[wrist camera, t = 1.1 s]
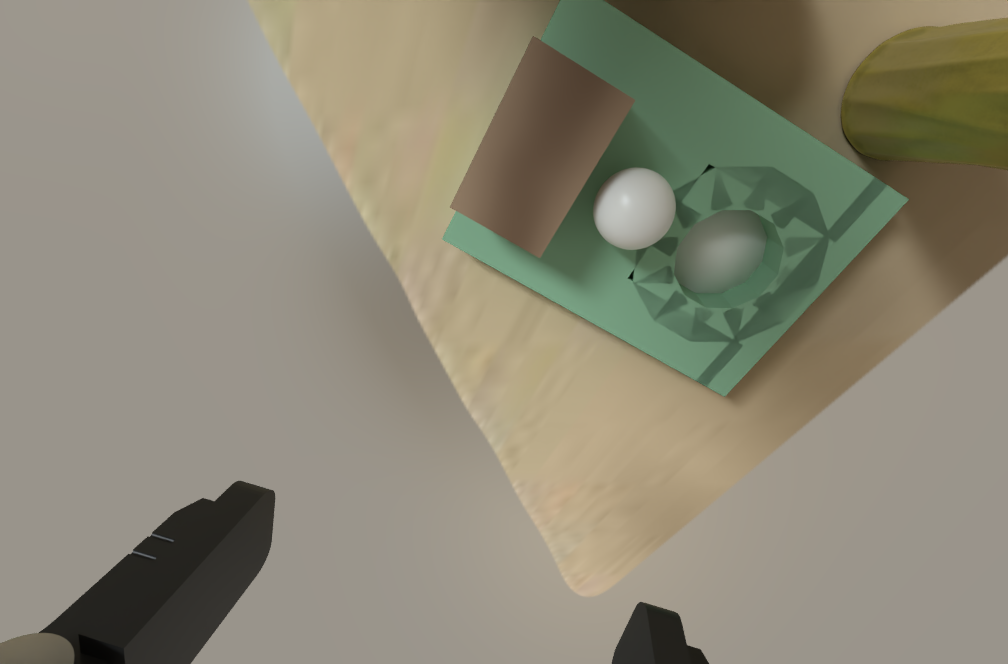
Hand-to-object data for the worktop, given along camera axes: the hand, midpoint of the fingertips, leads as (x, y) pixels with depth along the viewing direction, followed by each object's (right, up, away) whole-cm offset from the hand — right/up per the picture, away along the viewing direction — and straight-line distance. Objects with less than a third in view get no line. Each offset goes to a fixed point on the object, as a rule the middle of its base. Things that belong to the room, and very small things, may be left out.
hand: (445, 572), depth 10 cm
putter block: (+3, +15, +15) cm, 21 cm away
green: (+10, +12, +18) cm, 24 cm away
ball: (+8, +11, +14) cm, 20 cm away
